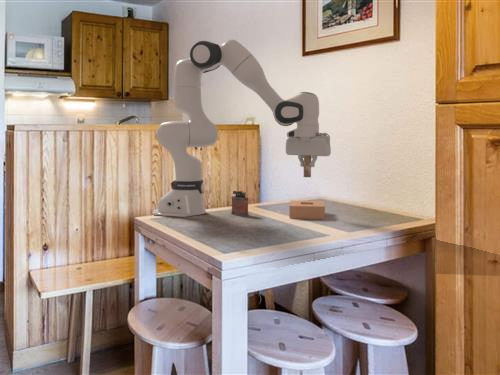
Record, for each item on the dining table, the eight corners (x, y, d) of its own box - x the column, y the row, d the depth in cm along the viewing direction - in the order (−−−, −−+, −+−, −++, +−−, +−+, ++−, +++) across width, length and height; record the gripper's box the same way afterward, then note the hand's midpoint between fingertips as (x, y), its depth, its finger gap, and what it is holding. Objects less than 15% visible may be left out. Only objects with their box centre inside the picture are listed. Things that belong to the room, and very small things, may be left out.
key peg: (302, 177, 182) (302, 155, 181) (305, 176, 185) (306, 154, 184) (308, 177, 181) (309, 155, 180) (312, 176, 183) (312, 155, 182)
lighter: (250, 214, 187) (250, 191, 185) (245, 216, 184) (245, 192, 183) (234, 212, 191) (234, 189, 190) (229, 214, 188) (229, 190, 187)
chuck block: (289, 218, 179) (289, 205, 178) (290, 211, 193) (290, 200, 192) (324, 218, 177) (324, 206, 177) (323, 212, 191) (323, 201, 190)
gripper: (334, 132, 176) (333, 167, 178) (292, 132, 190) (292, 165, 191) (325, 132, 171) (324, 168, 173) (283, 132, 185) (283, 166, 187)
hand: (307, 166), depth 182 cm, fingers closed on key peg, 3 cm apart
